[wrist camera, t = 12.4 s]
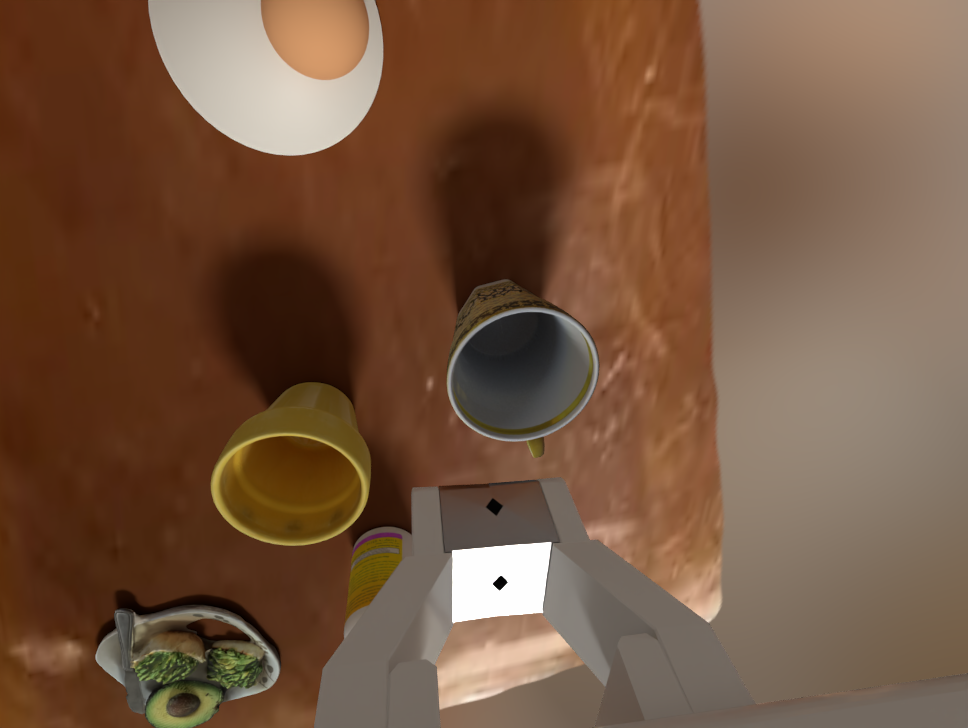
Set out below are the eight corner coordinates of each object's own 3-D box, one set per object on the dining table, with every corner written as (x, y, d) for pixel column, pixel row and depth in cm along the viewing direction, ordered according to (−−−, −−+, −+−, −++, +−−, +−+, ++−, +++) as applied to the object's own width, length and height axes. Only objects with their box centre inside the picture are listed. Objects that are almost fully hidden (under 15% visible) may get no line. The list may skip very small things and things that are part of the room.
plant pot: (245, 355, 38) (200, 429, 30) (379, 364, 40) (372, 436, 32) (254, 459, 43) (216, 547, 35) (373, 462, 45) (365, 547, 37)
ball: (302, 74, 24) (384, 94, 29) (305, -67, 22) (395, -22, 26) (240, 62, 27) (324, 82, 31) (237, -65, 25) (329, -24, 29)
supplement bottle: (339, 547, 50) (320, 677, 39) (388, 513, 48) (382, 637, 37) (384, 577, 53) (378, 706, 42) (431, 546, 51) (438, 670, 40)
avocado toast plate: (49, 615, 49) (18, 661, 45) (221, 568, 49) (205, 610, 45) (156, 708, 59) (138, 753, 55) (299, 669, 59) (291, 710, 55)
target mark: (183, 152, 31) (182, 153, 31) (117, -122, 25) (115, -124, 25) (389, 157, 33) (389, 157, 33) (375, -98, 27) (375, -100, 27)
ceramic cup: (423, 276, 37) (428, 330, 29) (549, 244, 38) (592, 288, 29) (462, 410, 44) (476, 488, 35) (569, 383, 44) (609, 453, 35)
